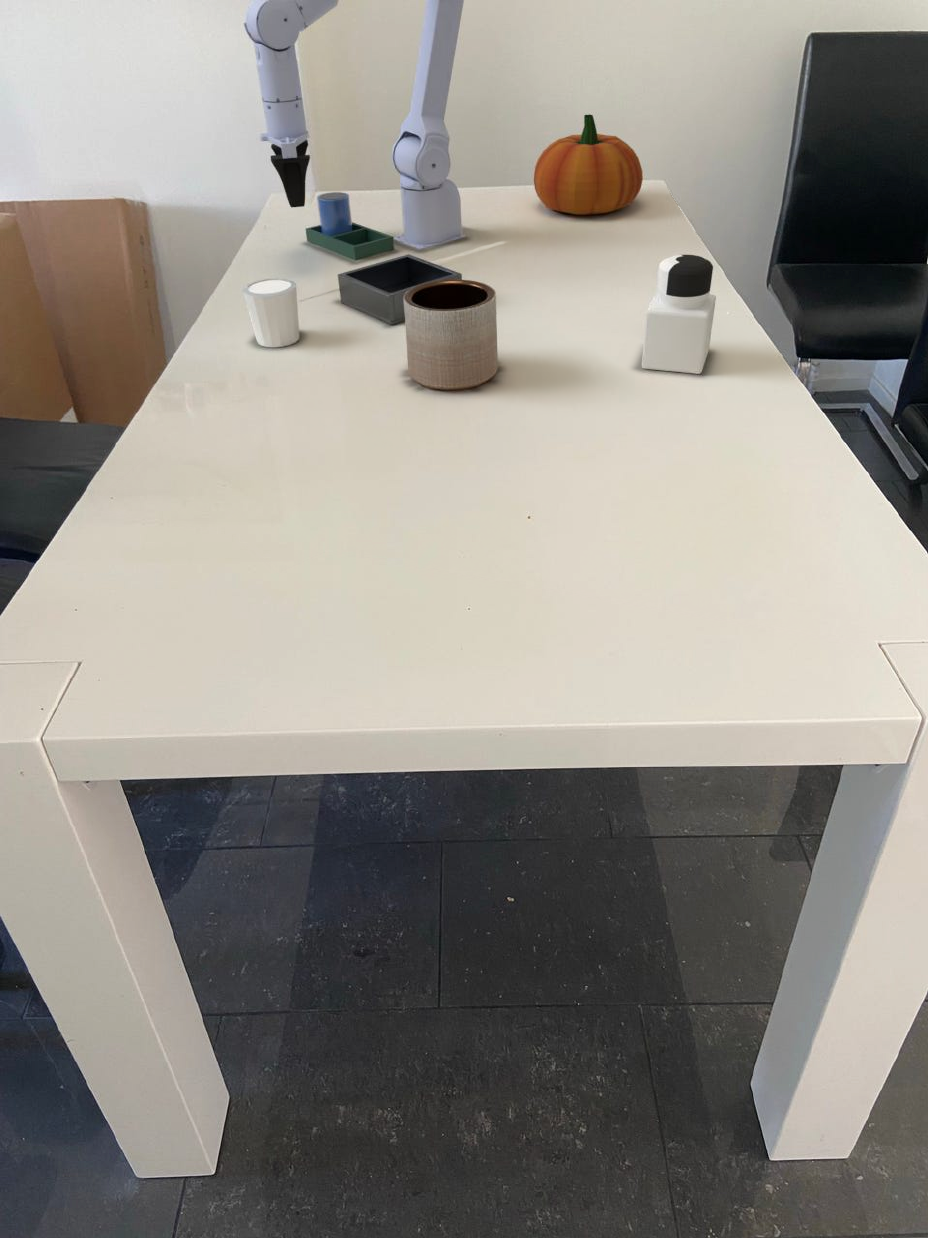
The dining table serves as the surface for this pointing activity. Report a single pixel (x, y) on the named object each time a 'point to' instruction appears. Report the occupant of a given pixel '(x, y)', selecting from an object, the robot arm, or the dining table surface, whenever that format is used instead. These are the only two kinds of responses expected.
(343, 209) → the cup
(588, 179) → the pumpkin
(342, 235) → the divided tray
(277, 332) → the white jar candle
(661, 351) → the medicine bottle
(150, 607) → the dining table surface
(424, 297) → the planter
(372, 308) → the dark gray square tray
